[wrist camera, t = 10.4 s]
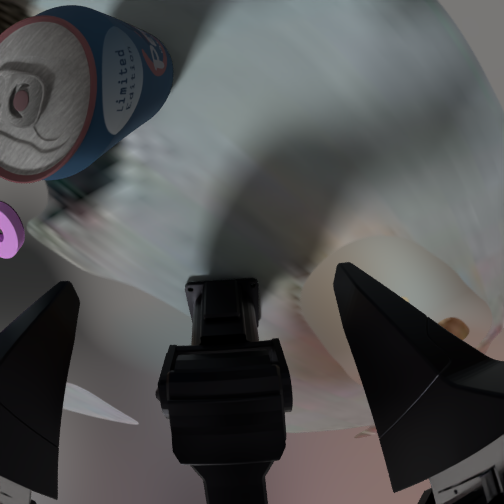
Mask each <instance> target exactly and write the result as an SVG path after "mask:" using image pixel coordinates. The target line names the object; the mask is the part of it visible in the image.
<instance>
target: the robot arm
mask: <svg viewBox="0 0 504 504" xmlns="http://www.w3.org/2000/svg"><path fill="white" fill-rule="evenodd" d="M252 283H254V284H253V285H251V284H252ZM190 287H191V288H192V289H190ZM333 287H334V292H335V296H336V300H337V304H338V308H339V313H340V316H341V321H342V325H343V329H344V332H345V335H346V338H347V340H348V343H349V346H350V349H351V352H352V354H353V357H354V360H355V363H356V366H357V369H358V372H359V375H360V378H361V381H362V384H363V387H364V390H365V394H366V397H367V400H368V403H369V406H370V410H371V413H372V416H373V419H374V423H375V426H376V429H377V433H378V436H379V438H380V439H379V440H380V444H381V447H382V451H383V454H384V458H385V462H386V466H387V469H388V473H389V477H390V481H391V485H392V489H393V492H394V493H395V492H398V491H401V490H403V489H405V488H408V487H410V486H412V485H415V484H417V483H420V482H422V481H424V480H426V479H428V478H429V480H430V484H431V487H432V488H430V489H428V490H426V491H424V493H423V495H422V496H421V498H420V500H419V502H418V504H504V361H498V360H494V359H492V358H490V357H488V356H486V355H484V354H483V353H481V352H480V351H478V350H477V349H475V348H473V347H472V346H470V345H469V344H467V343H466V342H464V341H462V340H461V339H459V338H458V337H456V336H455V335H453V334H452V333H450V332H449V331H447V330H446V329H444V328H443V327H442V326H440V325H439V324H437V323H436V322H434V321H433V320H432V319H430V318H429V317H427V316H426V315H425V314H424V313H422V312H421V311H419V310H418V309H417V308H415V307H414V306H412V305H411V304H410V303H408V302H407V301H405V300H404V299H403V298H401V297H400V296H398V295H397V294H396V293H394V292H393V291H391V290H390V289H388V288H387V287H385V286H384V285H383V284H381V283H380V282H378V281H377V280H375V279H374V278H373V277H371V276H369V275H368V274H367V273H365V272H364V271H362V270H361V269H359V268H358V267H356V266H355V265H353V264H352V263H350V262H345V263H339V264H338V265H337V268H336V273H335V278H334V283H333ZM185 292H186V297H187V301H188V306H189V310H190V314H191V318H192V323H193V326H192V343H191V345H190V346H177V345H170V346H169V349H168V353H166V357H165V360H164V364H163V367H162V371H161V374H160V378H159V382H158V388H157V390H156V398H157V399H158V400H159V401H160V403H161V408H162V411H163V414H164V416H165V417H166V418H168V419H170V426H171V432H172V448H173V453H174V454H175V456H176V457H177V459H178V460H179V462H180V463H181V464H182V465H190V466H191V467H192V468H193V469H194V470H195V472H197V474H198V475H199V476H200V477H201V478H202V479H203V483H204V489H205V495H206V501H207V504H268V501H267V491H266V482H265V476H266V474H267V472H268V471H269V469H270V467H271V466H272V464H273V462H274V461H277V460H280V458H281V456H282V454H283V451H284V449H285V446H286V443H285V440H286V425H285V412H291V411H292V404H293V398H292V386H291V379H290V374H289V370H288V366H287V363H286V360H285V357H284V354H283V351H282V348H281V344H280V341H279V338H275V339H272V340H266V341H259V337H258V330H257V328H258V281H257V279H255V278H249V279H235V280H220V281H204V282H189V283H187V284H186V285H185ZM79 306H80V301H79V297H78V296H77V293H76V291H75V289H74V287H73V285H72V283H71V282H70V281H60V282H59V283H58V284H56V285H55V286H54V287H52V288H51V289H50V290H49V291H47V292H46V293H45V294H44V295H43V296H42V297H40V298H39V299H38V300H37V301H35V302H34V303H33V304H32V305H31V306H30V307H29V308H27V309H26V310H25V311H24V312H23V313H22V314H20V315H19V316H18V317H17V318H16V319H15V320H14V321H13V322H12V323H10V324H9V325H8V326H7V327H6V328H5V329H4V330H3V331H2V332H1V333H0V504H36V502H35V501H33V500H31V491H35V492H37V493H40V494H42V495H45V496H47V497H50V498H53V499H56V500H57V498H58V453H59V452H58V451H59V448H58V447H59V437H60V426H61V417H62V408H63V401H64V394H65V388H66V382H67V376H68V370H69V365H70V360H71V355H72V350H73V345H74V340H75V332H76V326H77V318H78V313H79Z"/></svg>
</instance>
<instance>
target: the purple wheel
mask: <svg viewBox="0 0 504 504" xmlns="http://www.w3.org/2000/svg"><path fill="white" fill-rule="evenodd" d="M0 229H1V230H2V232H3V233H0V257H2V258H6V259H7V258H11V257H13V256H14V255H15V254H16V253H17V251H18V250H19V249H20V247H21V246H22V244H23V243H24V238H25V232H24V227H23V223H22V221H21V219H20V217H19V215H18V214H17V212H16V211H15V210H14V209H13V208H12V207H11V206H10V205H9V204H7V203H5V202H3V201H0Z"/></svg>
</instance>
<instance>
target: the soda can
mask: <svg viewBox="0 0 504 504" xmlns="http://www.w3.org/2000/svg"><path fill="white" fill-rule="evenodd" d="M172 82H173V64H172V60H171V57H170V55H169V52H168V51H167V49H166V47H165V46H164V45H163V44H162V42H161V41H160V40H158V39H157V38H156V37H154V36H153V35H151V34H149V33H147V32H145V31H143V30H141V29H139V28H136V27H134V26H132V25H130V24H128V23H125V22H123V21H121V20H118V19H116V18H114V17H111V16H109V15H106V14H104V13H101V12H99V11H96V10H93V9H91V8H87V7H83V6H76V5H67V6H60V7H55V8H52V9H49V10H46V11H44V12H42V13H40V14H38V15H36V16H33V17H29V18H26V19H23V20H21V21H19V22H17V23H15V24H13V25H12V26H10V27H9V28H7V29H6V30H5V31H4V32H2V33H1V34H0V177H1V178H3V179H5V180H8V181H11V182H16V183H32V182H37V181H40V180H57V179H62V178H66V177H69V176H72V175H74V174H76V173H78V172H80V171H82V170H83V169H85V168H86V167H88V166H89V165H90V164H92V163H93V162H94V161H95V160H97V159H98V158H99V157H100V156H101V155H103V154H104V153H105V152H106V151H108V150H109V149H110V148H111V147H113V146H114V145H115V144H117V143H118V142H119V141H120V140H122V139H123V138H124V137H126V136H127V135H128V134H130V133H131V132H133V131H134V130H135V129H137V128H138V127H139V126H141V125H142V124H144V123H145V122H147V121H148V120H149V119H151V118H152V117H153V116H154V115H155V114H156V113H157V112H158V111H159V110H160V109H161V107H162V106H163V104H164V103H165V101H166V100H167V98H168V95H169V93H170V90H171V87H172Z"/></svg>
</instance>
